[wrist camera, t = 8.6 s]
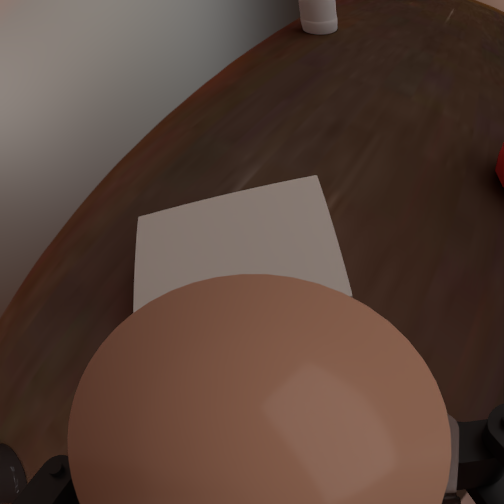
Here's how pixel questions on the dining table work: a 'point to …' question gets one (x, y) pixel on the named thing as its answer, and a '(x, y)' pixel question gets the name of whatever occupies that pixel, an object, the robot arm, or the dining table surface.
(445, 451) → the tan rounded-top cylinder
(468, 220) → the dining table surface
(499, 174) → the apple
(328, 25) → the bottle
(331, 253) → the white channel block
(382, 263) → the dining table surface
